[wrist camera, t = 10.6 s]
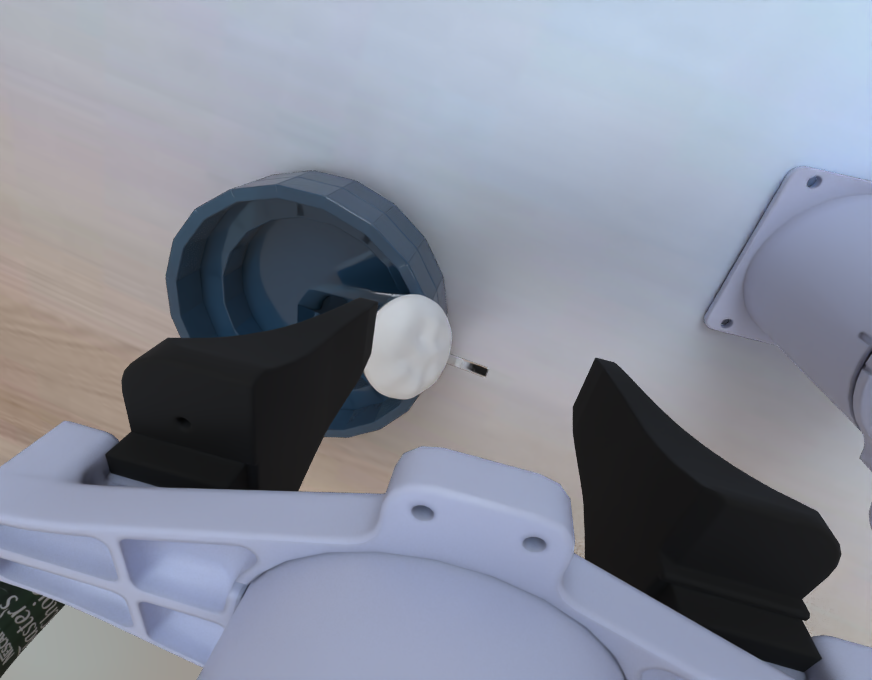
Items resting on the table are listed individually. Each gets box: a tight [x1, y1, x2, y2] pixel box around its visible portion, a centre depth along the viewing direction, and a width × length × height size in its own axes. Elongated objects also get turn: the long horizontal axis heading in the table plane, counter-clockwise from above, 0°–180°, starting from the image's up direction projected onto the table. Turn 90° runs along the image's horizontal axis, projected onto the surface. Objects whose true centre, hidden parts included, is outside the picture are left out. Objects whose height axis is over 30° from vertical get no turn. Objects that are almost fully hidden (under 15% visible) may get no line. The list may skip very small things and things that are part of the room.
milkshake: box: [297, 283, 489, 399], centre depth 21 cm, size 4×5×10 cm
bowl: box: [166, 171, 447, 438], centre depth 24 cm, size 14×14×4 cm
